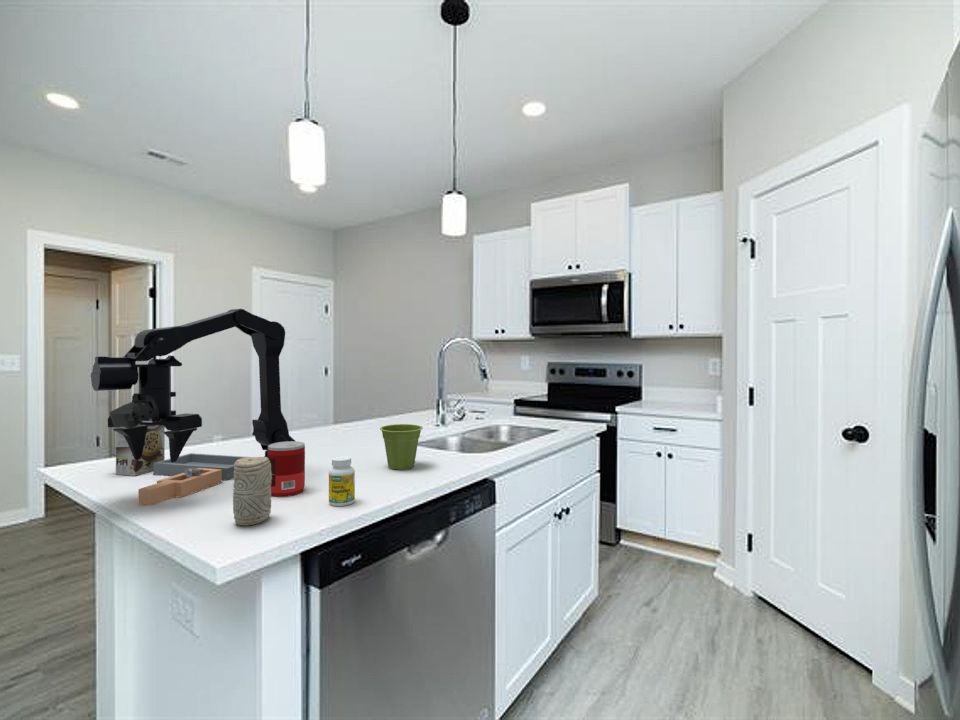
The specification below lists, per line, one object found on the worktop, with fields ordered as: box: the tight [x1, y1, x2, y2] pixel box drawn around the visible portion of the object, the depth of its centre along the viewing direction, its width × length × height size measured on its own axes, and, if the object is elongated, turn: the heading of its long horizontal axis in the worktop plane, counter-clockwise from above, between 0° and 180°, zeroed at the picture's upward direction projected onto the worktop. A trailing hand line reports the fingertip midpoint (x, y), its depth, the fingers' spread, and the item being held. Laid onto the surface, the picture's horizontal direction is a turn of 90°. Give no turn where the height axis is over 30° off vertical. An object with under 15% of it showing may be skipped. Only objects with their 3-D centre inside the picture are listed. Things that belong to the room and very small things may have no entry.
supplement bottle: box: [328, 455, 356, 507], centre depth 101 cm, size 5×5×10 cm
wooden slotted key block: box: [138, 468, 223, 506], centre depth 107 cm, size 18×6×3 cm, turn 168°
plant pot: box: [379, 423, 424, 471], centre depth 132 cm, size 12×12×11 cm
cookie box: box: [115, 419, 166, 477], centre depth 125 cm, size 9×6×16 cm
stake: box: [184, 468, 203, 479], centre depth 110 cm, size 4×2×5 cm, turn 78°
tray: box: [152, 452, 253, 481], centre depth 125 cm, size 22×12×3 cm, turn 78°
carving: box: [232, 456, 272, 526], centre depth 90 cm, size 6×8×12 cm
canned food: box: [268, 440, 306, 498], centre depth 108 cm, size 8×8×11 cm
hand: (155, 460), depth 101 cm, fingers open, 9 cm apart
